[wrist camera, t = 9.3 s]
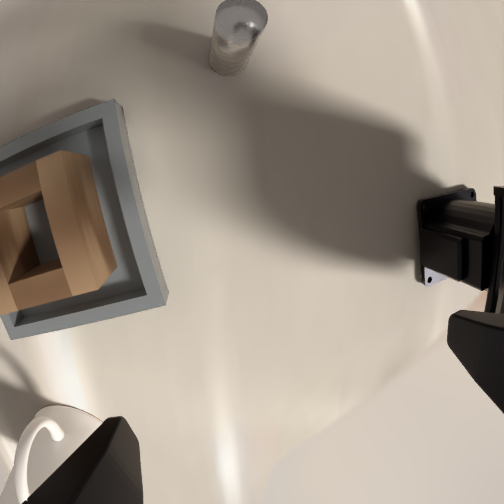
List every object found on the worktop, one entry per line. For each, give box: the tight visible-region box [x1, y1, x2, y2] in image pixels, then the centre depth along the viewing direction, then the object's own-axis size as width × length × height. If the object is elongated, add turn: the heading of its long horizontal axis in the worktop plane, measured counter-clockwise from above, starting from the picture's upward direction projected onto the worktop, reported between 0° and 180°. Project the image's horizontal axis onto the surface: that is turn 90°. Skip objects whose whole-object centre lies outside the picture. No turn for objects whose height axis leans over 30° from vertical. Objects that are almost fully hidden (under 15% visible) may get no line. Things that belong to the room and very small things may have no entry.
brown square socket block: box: [0, 150, 118, 315], centre depth 14 cm, size 6×6×4 cm
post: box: [209, 0, 268, 76], centre depth 13 cm, size 2×2×6 cm
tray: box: [0, 99, 169, 340], centre depth 15 cm, size 11×11×2 cm
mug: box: [0, 405, 103, 504], centre depth 13 cm, size 12×8×12 cm
